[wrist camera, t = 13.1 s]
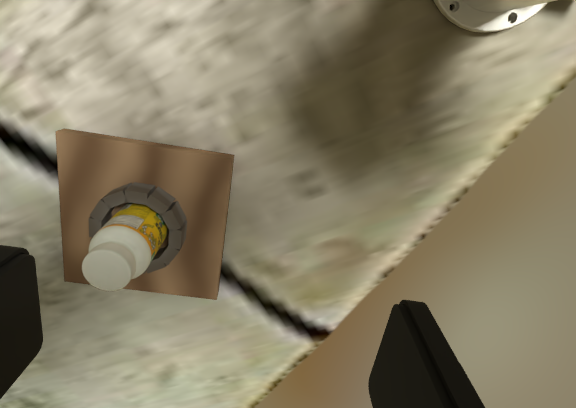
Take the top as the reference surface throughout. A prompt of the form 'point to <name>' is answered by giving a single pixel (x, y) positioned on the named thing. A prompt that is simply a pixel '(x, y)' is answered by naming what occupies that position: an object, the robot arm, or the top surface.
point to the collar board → (158, 168)
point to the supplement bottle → (124, 247)
